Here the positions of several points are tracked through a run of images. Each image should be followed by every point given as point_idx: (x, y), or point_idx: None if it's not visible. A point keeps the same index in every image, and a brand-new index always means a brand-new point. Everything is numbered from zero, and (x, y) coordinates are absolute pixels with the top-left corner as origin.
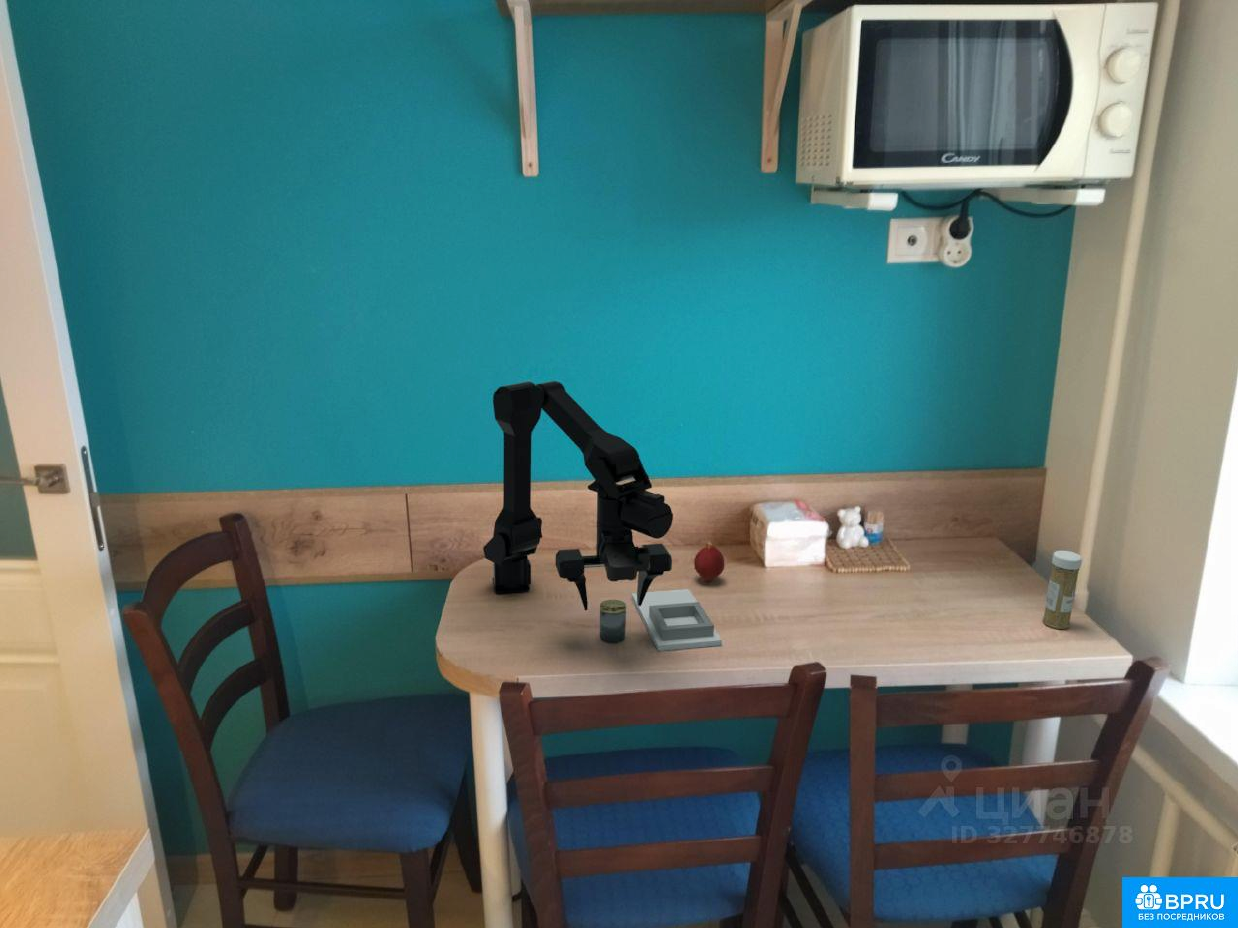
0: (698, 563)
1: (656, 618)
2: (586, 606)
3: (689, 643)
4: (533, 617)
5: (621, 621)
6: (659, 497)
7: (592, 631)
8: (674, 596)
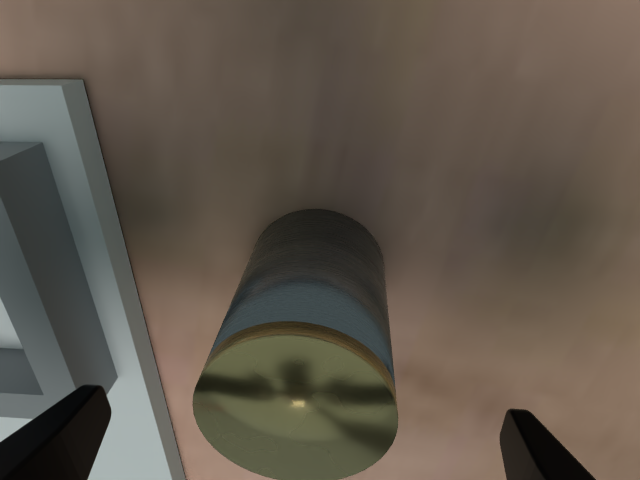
0: None
1: (42, 307)
2: (533, 434)
3: None
4: (612, 470)
5: (257, 287)
6: None
7: (400, 333)
8: None
